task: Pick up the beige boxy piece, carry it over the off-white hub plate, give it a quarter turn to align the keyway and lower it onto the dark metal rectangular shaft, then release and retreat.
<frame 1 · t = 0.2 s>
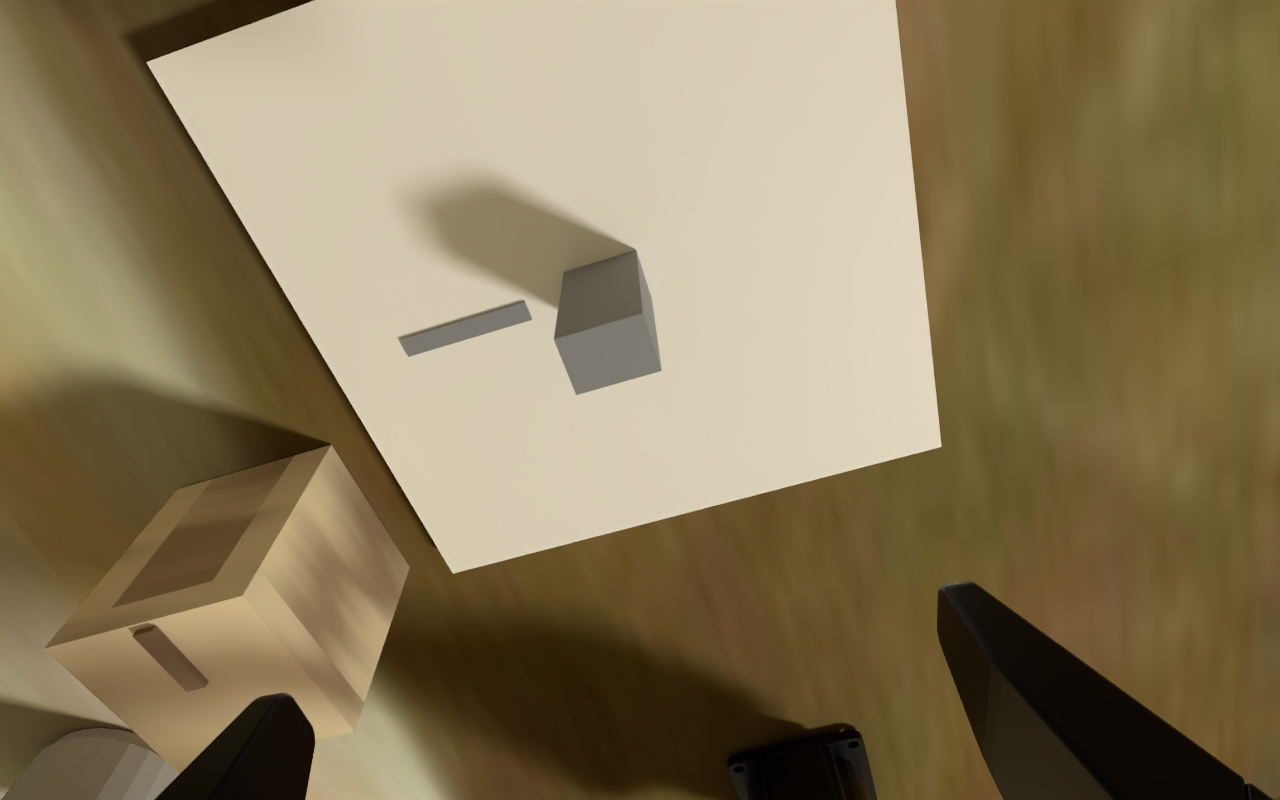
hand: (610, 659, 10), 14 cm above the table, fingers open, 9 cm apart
beige boxy piece: (298, 529, 27), on the table
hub: (608, 273, 22), on the table
coffee cup: (122, 763, 33), on the table
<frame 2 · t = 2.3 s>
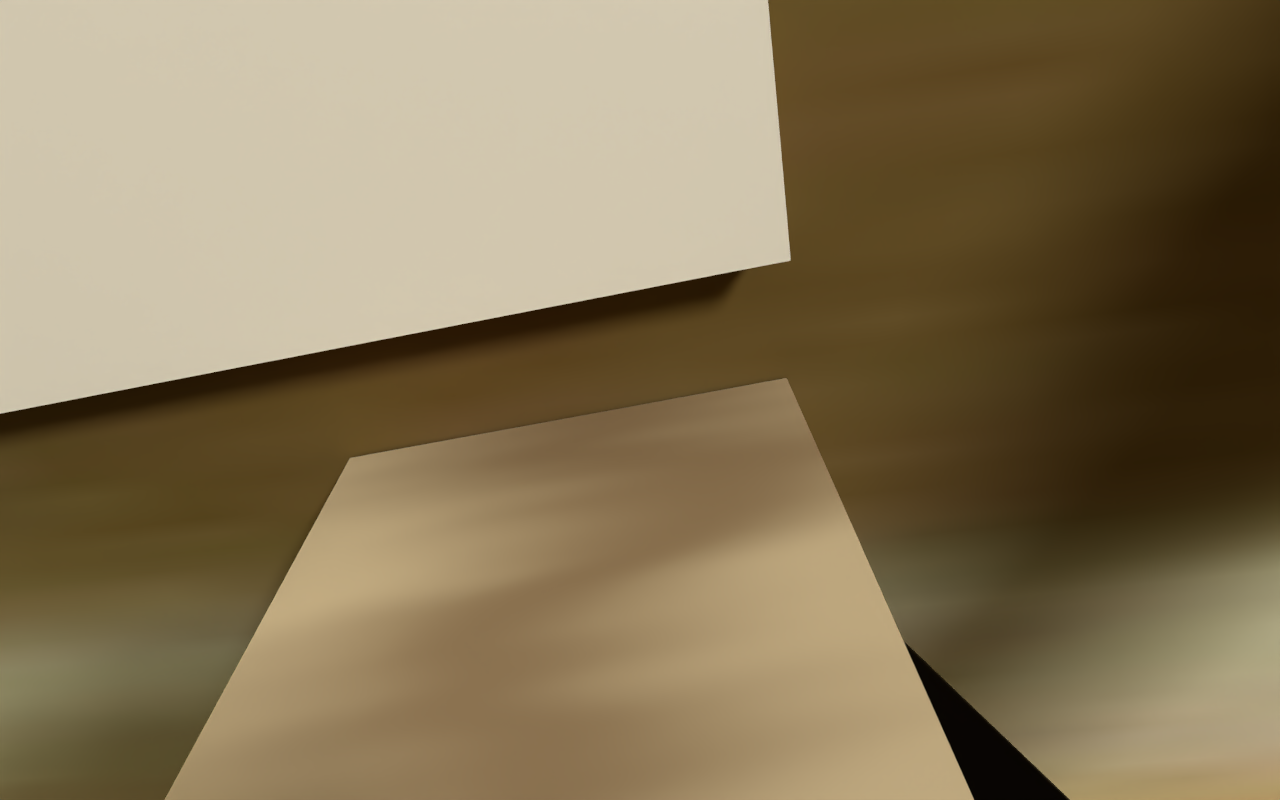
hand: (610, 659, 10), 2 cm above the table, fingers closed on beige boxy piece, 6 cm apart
beige boxy piece: (610, 579, 11), on the table, touching gripper
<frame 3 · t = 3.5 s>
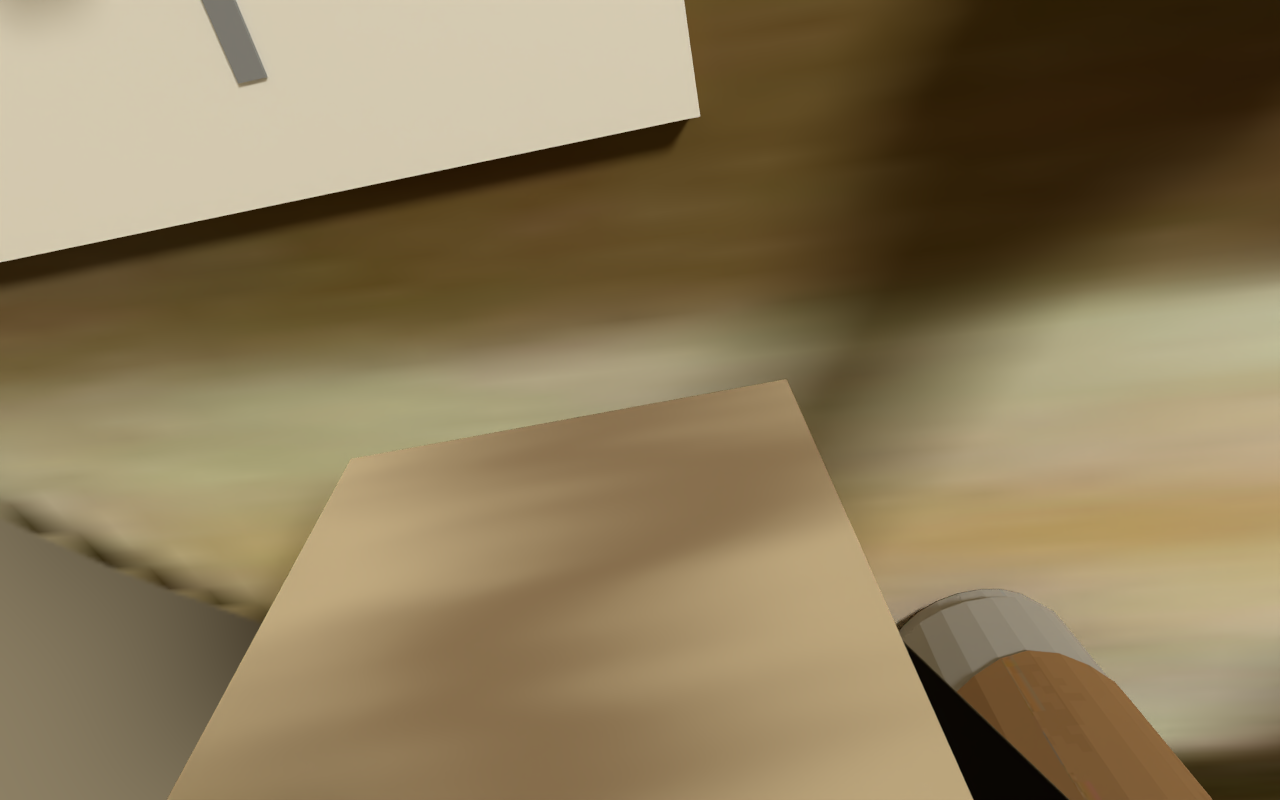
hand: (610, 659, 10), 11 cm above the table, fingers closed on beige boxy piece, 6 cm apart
beige boxy piece: (610, 580, 11), point 9 cm above the table, touching gripper
coffee cup: (966, 643, 26), on the table
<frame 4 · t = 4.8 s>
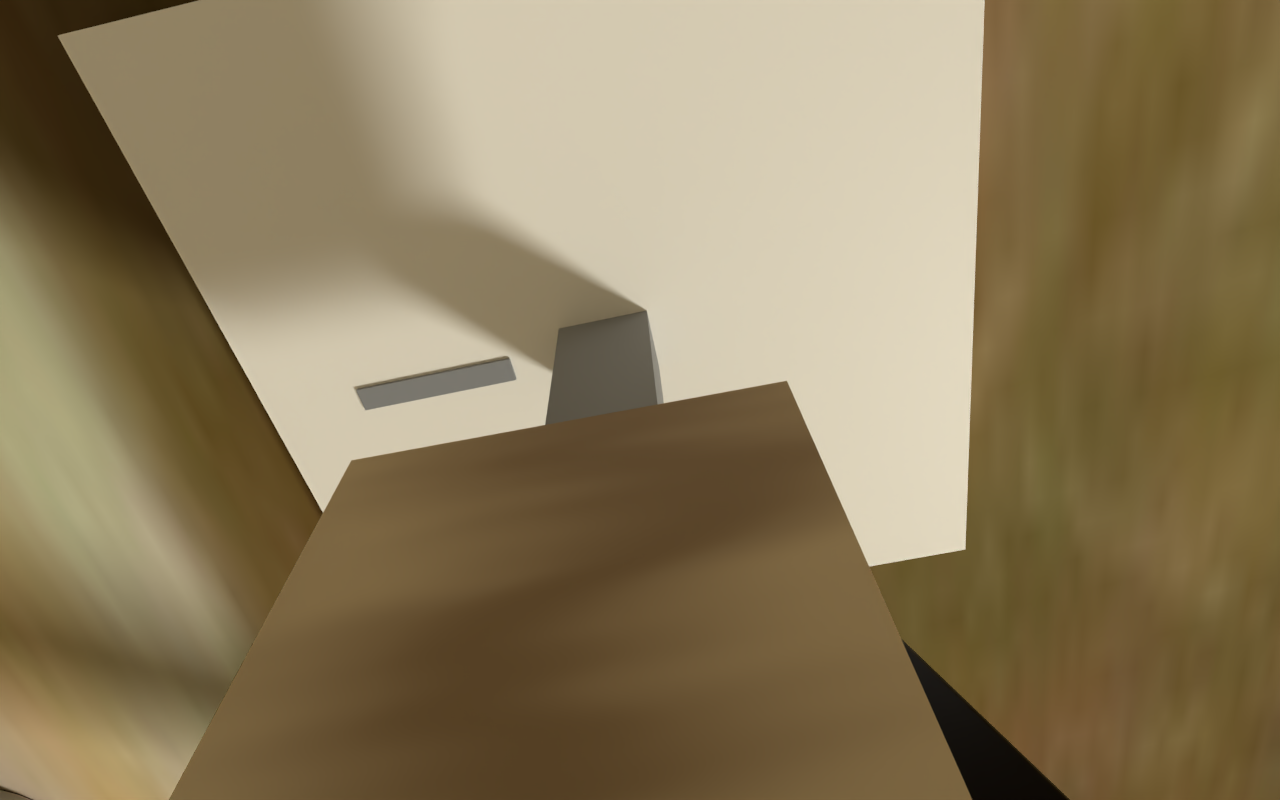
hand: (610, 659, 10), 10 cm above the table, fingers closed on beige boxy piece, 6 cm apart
beige boxy piece: (611, 581, 11), point 9 cm above the table, touching gripper
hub: (609, 331, 19), on the table
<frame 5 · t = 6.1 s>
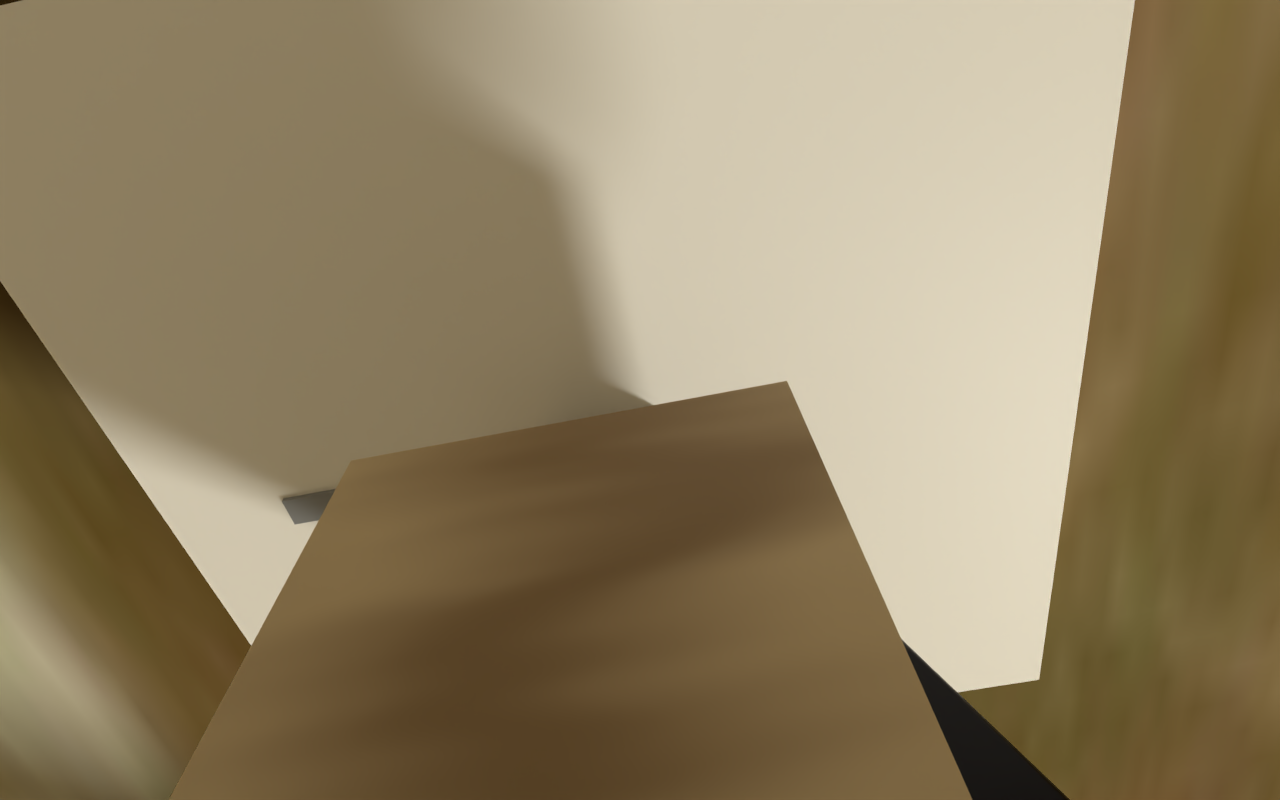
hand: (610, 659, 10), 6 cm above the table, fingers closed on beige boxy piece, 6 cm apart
beige boxy piece: (611, 581, 11), point 4 cm above the table, touching gripper
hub: (608, 424, 15), on the table
when the fingers open (4 cm above the table, at t = 7.1 s): beige boxy piece drops 1 cm, resting on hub.
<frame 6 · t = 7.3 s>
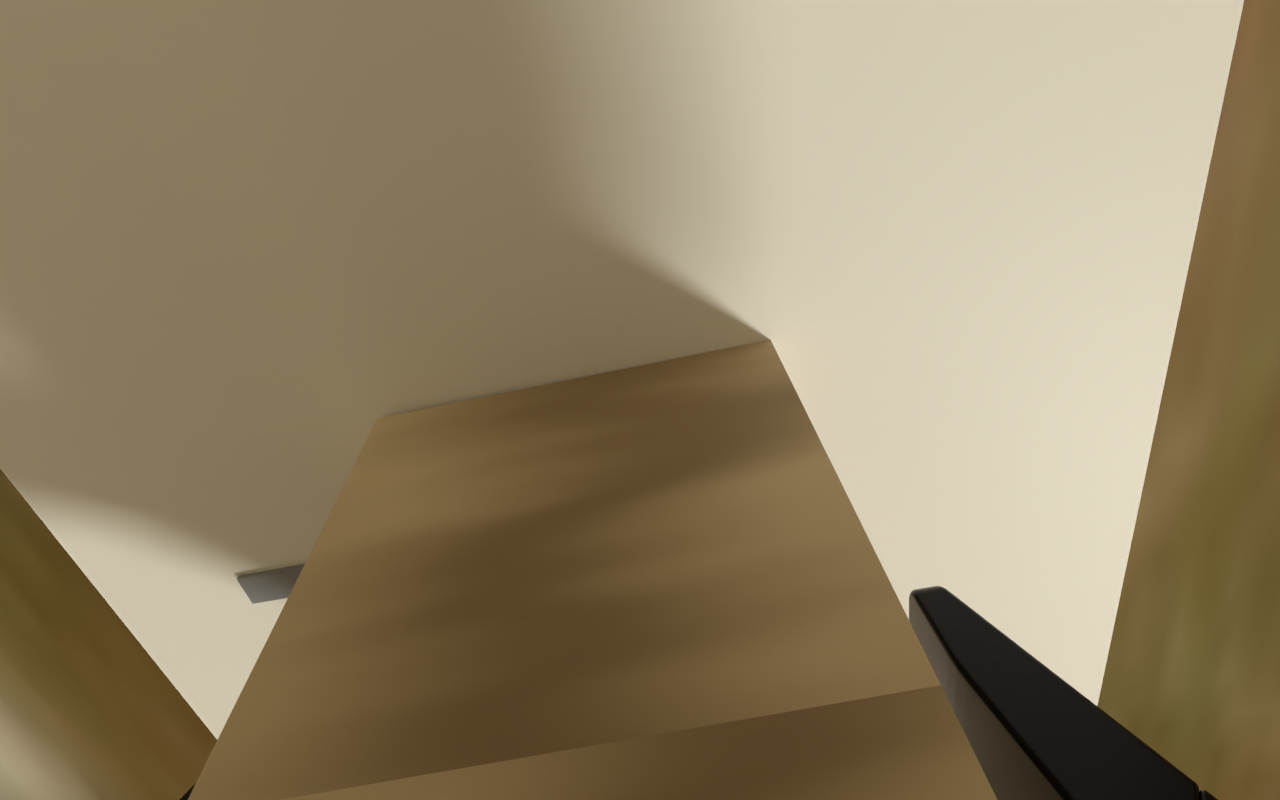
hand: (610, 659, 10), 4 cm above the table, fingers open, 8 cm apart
beige boxy piece: (613, 531, 12), point 1 cm above the table, touching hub
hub: (609, 488, 13), on the table
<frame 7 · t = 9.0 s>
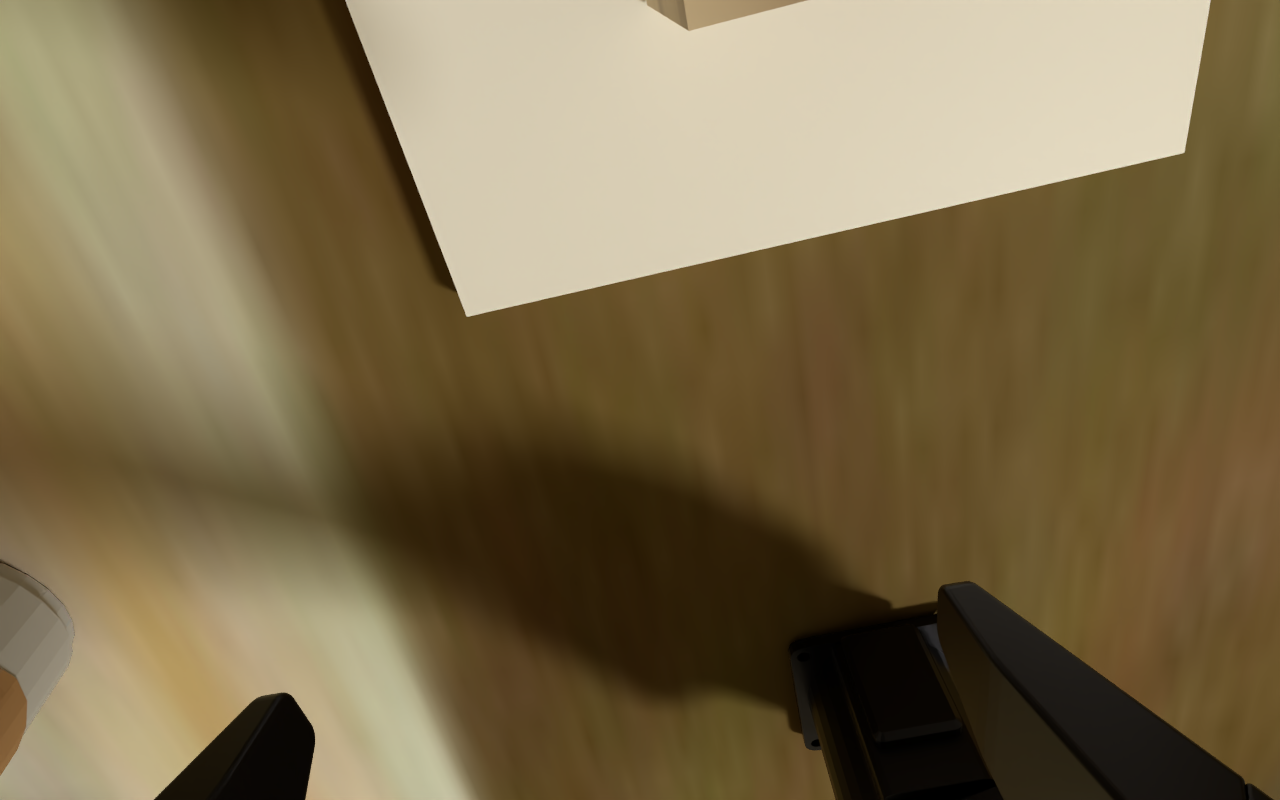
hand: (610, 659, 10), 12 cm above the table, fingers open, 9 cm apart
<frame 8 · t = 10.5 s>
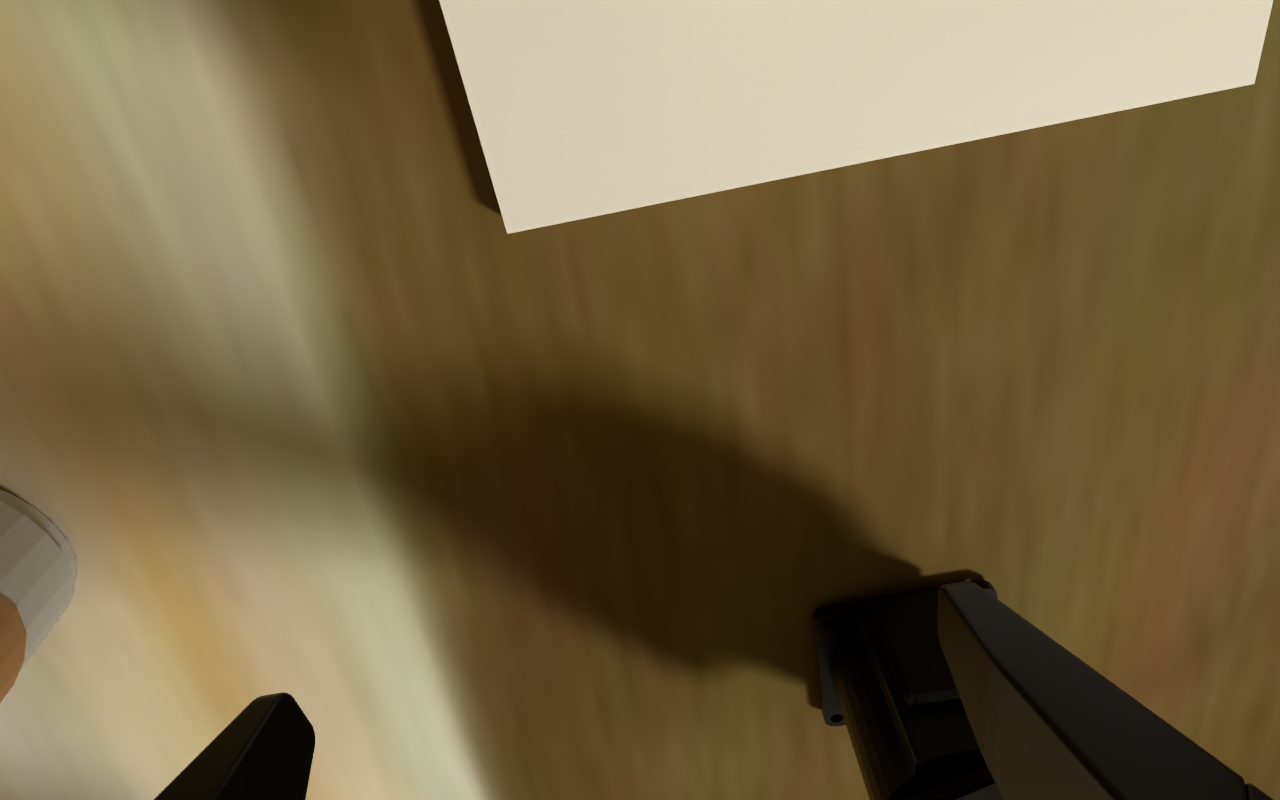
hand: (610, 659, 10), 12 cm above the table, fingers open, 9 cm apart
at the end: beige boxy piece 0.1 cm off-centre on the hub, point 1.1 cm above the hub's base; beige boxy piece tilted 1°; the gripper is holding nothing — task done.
